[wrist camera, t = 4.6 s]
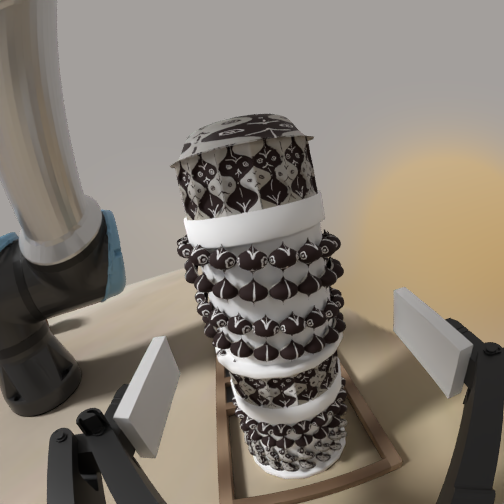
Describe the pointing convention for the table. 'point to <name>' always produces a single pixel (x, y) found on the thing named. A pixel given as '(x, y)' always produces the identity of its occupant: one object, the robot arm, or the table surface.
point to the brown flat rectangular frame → (288, 499)
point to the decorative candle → (267, 286)
